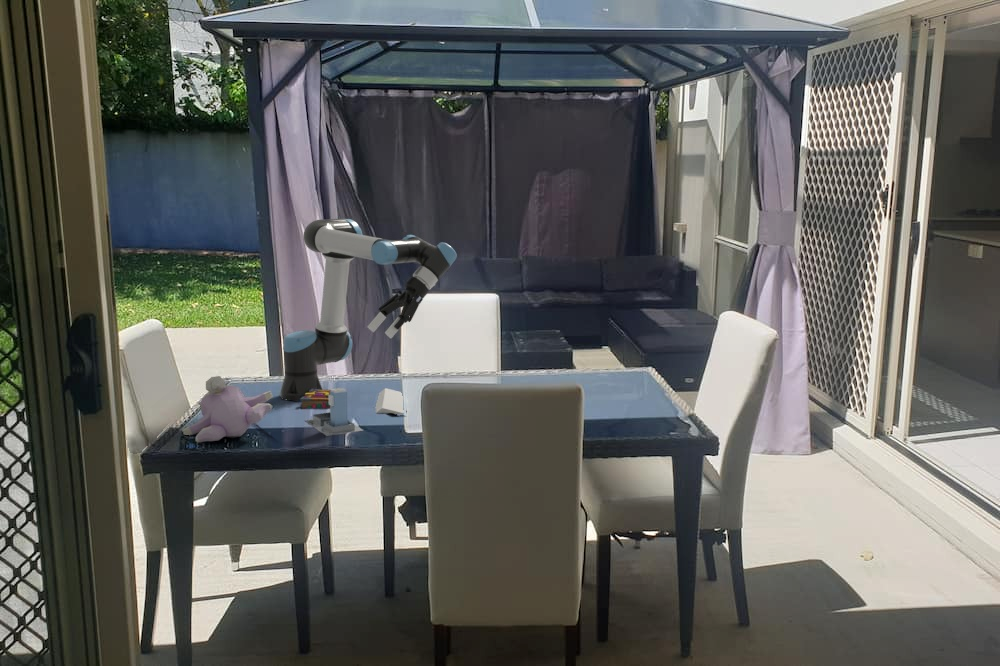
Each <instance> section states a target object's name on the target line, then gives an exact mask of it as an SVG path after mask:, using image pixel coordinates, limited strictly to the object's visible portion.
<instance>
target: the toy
mask: <svg viewBox="0 0 1000 666" xmlns="http://www.w3.org/2000/svg"><path fill="white" fill-rule="evenodd" d="M205 390H206V391H207V393H205V394H204V396H203V397H202V398H201V400H200V402H199V406H200V411H201V415H202V417H201V418H200V419H199V420H198V421H197V422H195V423H193V424H191V425H189V426H187V427H185V428H183V429H182V430H181V432H182V433H183V435H189V436H193V435H196V436H195V442H197V443H202V442H215V441H220V440H221V439H223V438H237V437H238V438H239V437H241V436H242V435H244V434H245V433H246V431H247V430H248V428H250V426H251V425H252V424H253V425H254V424H256V423H260V421H261V420H262V419H264V417H265V416H266V415H267V414H268V413H269V412H270V411H272V409H273V405H272V404H271V403H267V402H268V401H270V399H272V398H273V397H274V396H273V393H272V391H271V390H268V391H266V392H263V393H260V394H258V395H255V396H245V395H244V393H243V392H242V391H241V389H240V388H239V387H238V386H236V385H230V384H226V380H225V378H222V376H220V375H216V376H211V377H210V378H208V379H207V380H206V381H205Z"/></svg>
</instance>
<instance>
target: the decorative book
mask: <svg viewBox="0 0 1000 666" xmlns="http://www.w3.org/2000/svg"><path fill="white" fill-rule="evenodd" d="M322 389H323V388H322ZM322 389H311V390H310V391H309V392H308V393H305V396H303V397H302V398H300V401H299V402H301V407H300V410H303V409H306V410H307V409H316V408H321V409H327V408H330V405H329V399H328V395H330V391H331V389H323V390H322Z"/></svg>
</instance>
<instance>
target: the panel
mask: <svg viewBox="0 0 1000 666" xmlns="http://www.w3.org/2000/svg"><path fill="white" fill-rule="evenodd" d="M304 422H305V423H306V424H308V425H310V426H311V427H313V428H314V429H316V430H317V431H319V432H320V433H321V434H323V435H325V436H326V437H329V436H334V435H342V434H349V433H354V432H360V431H361V432H362V431H364V429H362V428H361V427H360V426H357V425H356V424H355V423H354V422H352V421H351V420H348V424H347V425H340V426H332V425H331V416H330V411H329V412H323V413H315V414H312V419H307V420H304Z"/></svg>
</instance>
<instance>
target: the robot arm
mask: <svg viewBox="0 0 1000 666" xmlns="http://www.w3.org/2000/svg"><path fill="white" fill-rule="evenodd" d="M361 228H362V227H360V225H359V224H358V222H356V221H355V220H353V219H350V218H329V219H322V218H321V219H317V220H313V221H311V222H309V224H307V226H306V227H305V228H304V231H303V234H302V235H303V241H304V244H305V246H306V248H308V249H309V250H311V252H315V253H321V255H322V256H323V257H324V259H325V264H324V265H325V266H324V276H323V287H322V298H321V299H322V300H321V310H320V320H319V322H318V323H317V324H315V331H313V330H301V331H299V330H298V331H294V332H291V333H288V334H287V335H285V337H284V338H283V347H282V349H283V362H284V363H283V365H284V366H283V367H284V368H283V369H284V378H283V381H282V384H281V388H280V392H279V393H280V396H281V397H280V399H282V398H283V399H282V400H284V399H287V400H286V401H290V400H300V398H302V397H303V396H305V393H308V392H309V391H310V390H311V389H322V390H324V389H323V386H322V384H321V381H320V378H319V375H318V366H321V365H325V364H332V363H337V362H339V361H343V360H345V359H347V358H348V357H349V355H350V354H351V352H352V349H353V339H352V338H351V337H352V335H351V334H350V332H349V331H348V328H347V326H346V325H345V324H344V322H345V315H346V314H345V312H346V302H347V294H348V281H349V272H350V264H351V263H350V262H351V261H352V260H354V259H355V257H356V258H361V259H364V260H365V259H366V260H371V261H374V262H375V264H378V265H386V266H389V265H394V264H404V263H405V264H406V263H417V264H419V266H418V268H417V269H416V270H415V271H414V272H413V273H412V276H410V277H409V278H408V280H407V281H406V282H405V284H404V286H405V288H406V289H405V290H404V291H403V290H402V289H399V290H398V291H397V292H396V293H395V294H394V295H393V296H392V297H391V298H390V299H388V300H387V301H386V302H384V303H383V304H382V305H381V306H380V307H378V313H377V314H376V316H375V317H374V318H373V319H372V321H371V322H370V323H369V324H368V325H367V326H366V327H367V328H368V329H369V331H371V332H372V333H375V332H376V330H378V328H379V327H380V326H381V324H382V323H383V322H384V321H385V320H386V319H387V318H388V316H389V314H391V313H393V312H394V311H396V310H397V309H399V308H402V309H401V311H400V314H398V316H397V318H395V320H394V321H393V322H392V324H390V326H389V327H387V329H386V330H385V332H384V334H385V335H386V336H387V337H388V338H389V339H392V338H394V336H395V334H397V333H398V331H399V330H400V329H401V327H402V326H403V325H404V324H405V323H407V322H408V323H410V322H412V320H413V318H414V316H415V314H416V311H417V309H418V308H419V306H420V304H421V303H422V301H423V300H424V298H425V297H426V296H427V295H428V293H429V290H431V289H432V288H433V287H436V284H437V282H438V281H439V280H440V278H441V277H442V276H443V275H444V274H445V273H446V272H447V270H449V269H450V267H452V266H453V263H454V262H455V261H456V259H457V258H458V255H457V252H456V251H455V249H454V248H453V247H452V246H451V245H449V244H448V243H446V242H439V243H438V244H437V245H433V244H431V243H430V242H427V241H425V240H424V239H422V238H421V237H419V236H416V235H413V234H407V235H406V236H404V237H403V238H402V239H397V240H396V239H395V240H393V239H391V240H390V239H386V238H380V237H376V236H370V235H364V234H363V232H362V229H361Z"/></svg>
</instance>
